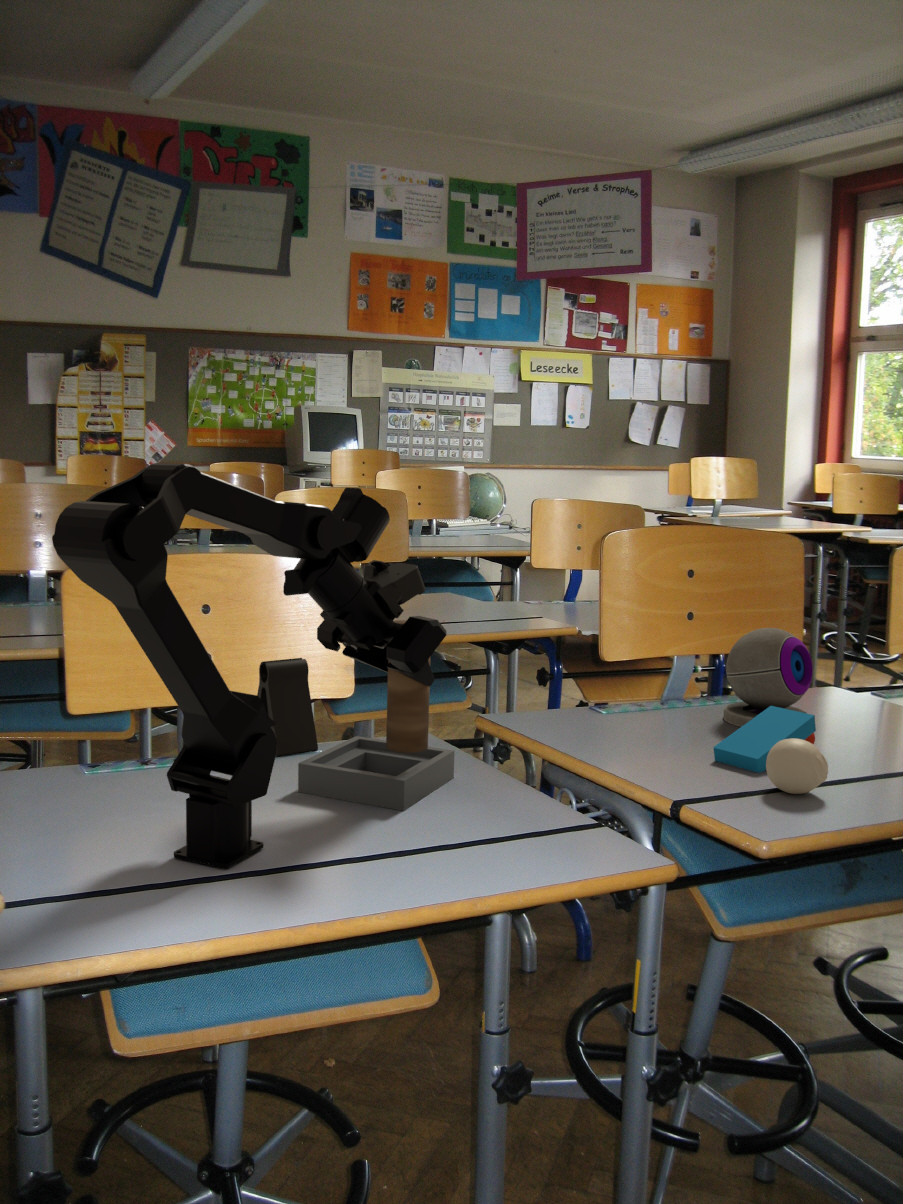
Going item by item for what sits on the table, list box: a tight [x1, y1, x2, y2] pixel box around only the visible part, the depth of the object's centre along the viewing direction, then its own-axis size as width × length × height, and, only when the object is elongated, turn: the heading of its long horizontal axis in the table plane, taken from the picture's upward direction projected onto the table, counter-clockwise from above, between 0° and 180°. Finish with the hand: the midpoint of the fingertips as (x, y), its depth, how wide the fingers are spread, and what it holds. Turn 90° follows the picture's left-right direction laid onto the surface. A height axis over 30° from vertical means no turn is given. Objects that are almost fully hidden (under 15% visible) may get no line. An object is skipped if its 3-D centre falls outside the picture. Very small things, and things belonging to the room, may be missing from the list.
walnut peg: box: [385, 619, 432, 753], centre depth 121 cm, size 5×5×15 cm
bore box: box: [297, 735, 455, 812], centre depth 124 cm, size 14×14×4 cm
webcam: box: [723, 627, 814, 728], centre depth 161 cm, size 13×13×15 cm
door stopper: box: [256, 657, 319, 757], centre depth 139 cm, size 9×6×12 cm, turn 35°
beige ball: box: [765, 738, 829, 795], centre depth 125 cm, size 7×7×7 cm
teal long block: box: [713, 706, 817, 774], centre depth 142 cm, size 7×7×18 cm
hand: (417, 679), depth 122 cm, fingers closed on walnut peg, 5 cm apart
